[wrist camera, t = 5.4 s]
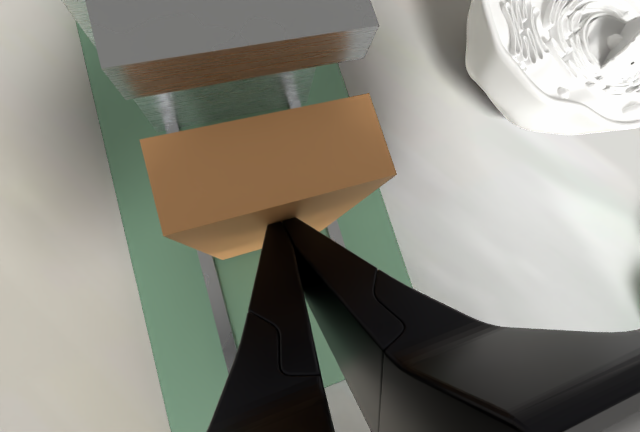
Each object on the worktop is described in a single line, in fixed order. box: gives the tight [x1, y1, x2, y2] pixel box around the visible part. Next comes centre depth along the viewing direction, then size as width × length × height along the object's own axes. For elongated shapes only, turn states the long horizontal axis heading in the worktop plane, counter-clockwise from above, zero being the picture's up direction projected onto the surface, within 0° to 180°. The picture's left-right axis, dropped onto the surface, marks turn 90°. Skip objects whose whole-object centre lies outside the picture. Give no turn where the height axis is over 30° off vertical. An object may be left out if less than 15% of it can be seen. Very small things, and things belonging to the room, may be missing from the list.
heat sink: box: [62, 0, 379, 374], centre depth 12 cm, size 20×8×12 cm, turn 17°
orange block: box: [139, 93, 397, 260], centre depth 12 cm, size 2×5×10 cm, turn 107°
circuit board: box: [76, 21, 412, 432], centre depth 18 cm, size 22×13×1 cm, turn 17°
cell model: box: [465, 0, 640, 135], centre depth 19 cm, size 10×12×7 cm
